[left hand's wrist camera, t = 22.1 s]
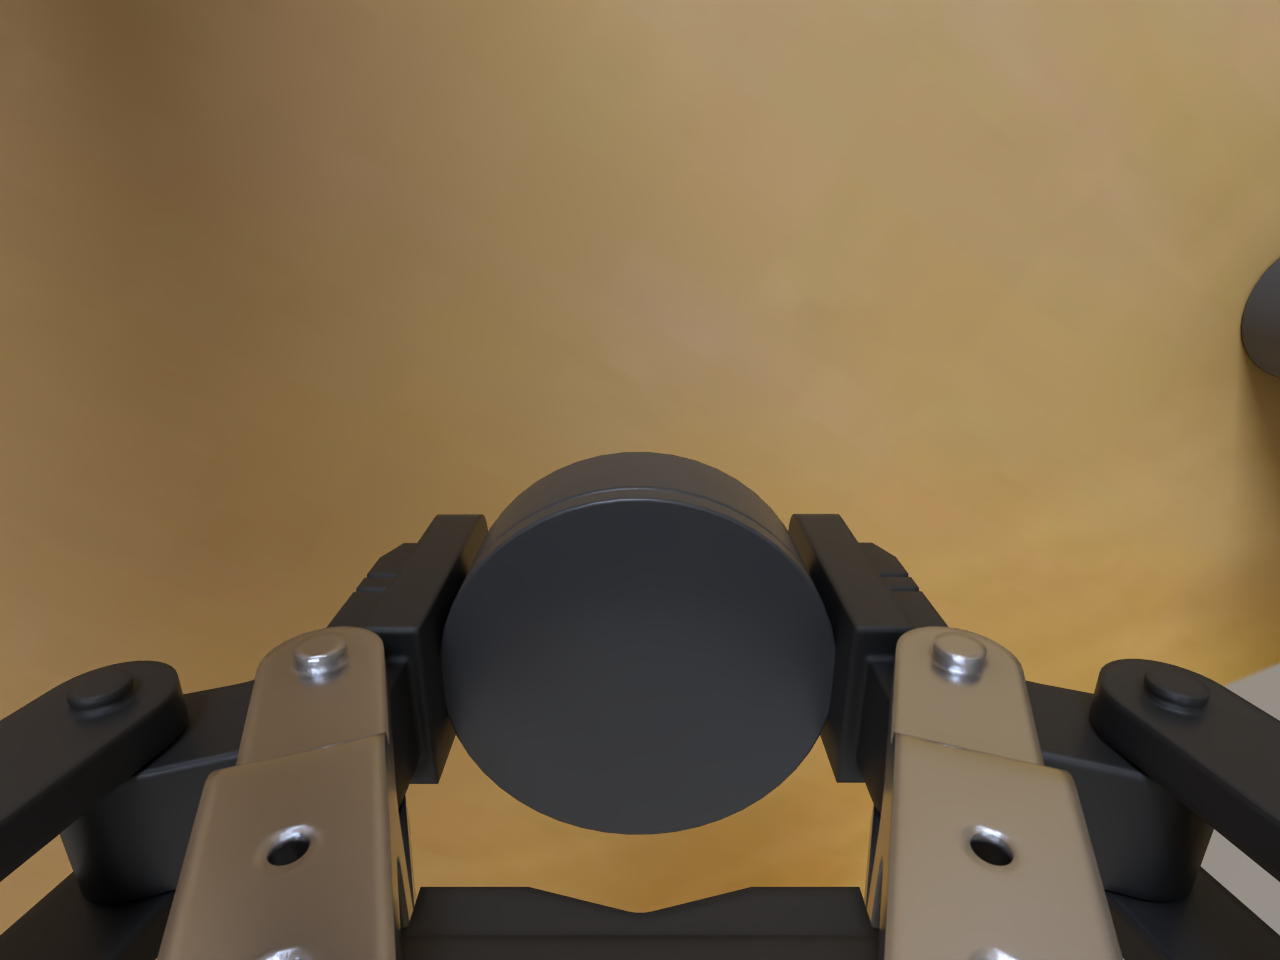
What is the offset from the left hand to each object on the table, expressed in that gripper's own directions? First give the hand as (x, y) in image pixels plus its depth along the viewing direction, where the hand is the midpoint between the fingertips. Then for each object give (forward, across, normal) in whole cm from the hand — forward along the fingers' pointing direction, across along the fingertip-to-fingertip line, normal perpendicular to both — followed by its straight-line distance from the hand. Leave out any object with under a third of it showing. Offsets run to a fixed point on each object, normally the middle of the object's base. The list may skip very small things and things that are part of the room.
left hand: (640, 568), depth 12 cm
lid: (-3, 0, 0) cm, 3 cm away
